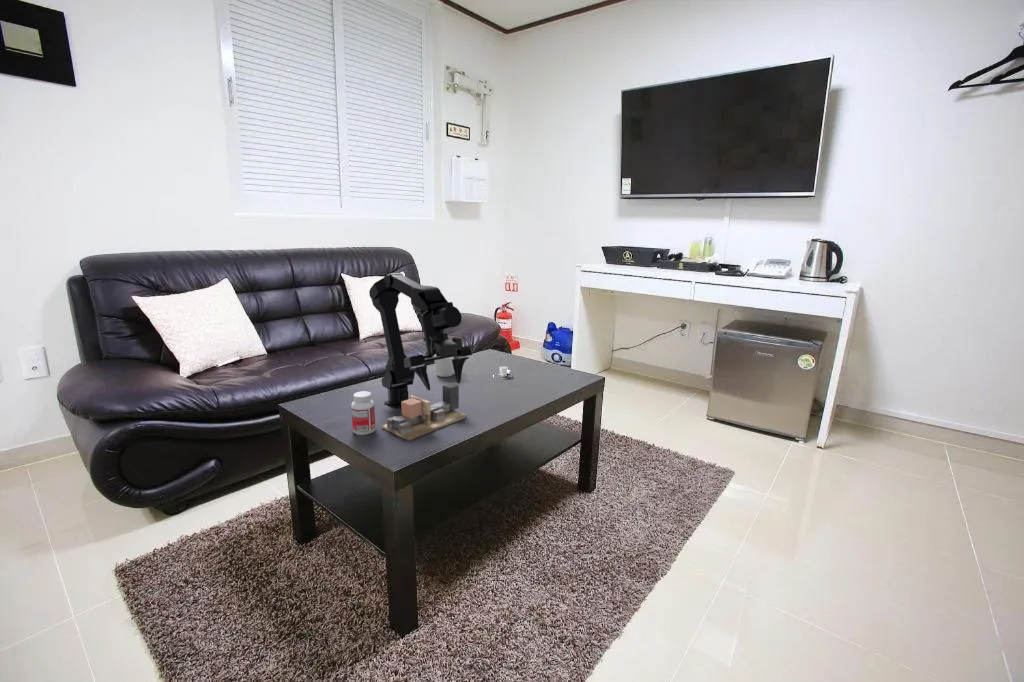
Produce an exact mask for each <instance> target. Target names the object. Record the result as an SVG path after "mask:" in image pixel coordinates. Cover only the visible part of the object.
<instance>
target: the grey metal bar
mask: <svg viewBox="0 0 1024 682" xmlns="http://www.w3.org/2000/svg"><path fill="white" fill-rule="evenodd" d="M459 391H460V385H458V384H456V383H453V382H449V383H446V384H443V385H442V401H438V402H437V403H434V404H430V418H433V411H436V410H438V409H443V410H445V413H446V412H449V411H452V410H455V411H456V410H457V409H459V408H460V405H459V404H460V403H459V402H460V400H459V399H460V396H459V395H460V392H459ZM406 421H408V422H411V426H412V425H415V424H417V423H420V422H423V421H425V414H424V413H422V415H419V416H416V417H414V418H411V419H410V418H408V417H406V416H403V415H402V414H401V415H400V416H397V417H396V418H394V419H393V427H394V428H396V429H398V430H399V424H400V423H403V422H406Z"/></svg>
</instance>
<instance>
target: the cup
mask: <svg viewBox="0 0 1024 682" xmlns="http://www.w3.org/2000/svg"><path fill="white" fill-rule="evenodd" d="M435 356H436V354H434V356H433V357H435ZM453 359H454V357H449V358H444V359H439V360H434V367H435V373H436V376H438V377H440V378H449V377H451V376H453V374H454V368H453V364H452V360H453Z"/></svg>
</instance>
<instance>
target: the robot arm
mask: <svg viewBox="0 0 1024 682" xmlns="http://www.w3.org/2000/svg"><path fill="white" fill-rule="evenodd" d="M368 293H369V297H370V299H371V302H372V305H373V307H374V308H375V309H376V310H377V312H378V313H379V314H380V320H381V323H382V325H381V326H382V330H383V334H384V339H385V343H386V349H387V355H388V359H387V362H386V365H385V373H384V375H383V377H382V378H381V380H380V381H381V385H382V387H383V388H384V389H385V388H386V389H387V396H388V400H385V401H384V404H385V405H387V406H390V407H392V408H395V409H398V408H402V407H401V402H402V401H405V400H408V399H410V398H409V389H408V388H409V386H410V385H411V386H412V385H413V384H414V380H415V375H417V376H418V377H419V378H420V380H421V382H422V384H423V385H424V387H425V388H426V390H427V391H431V384H430V379H429V375H428V371H427V369H428V368H427V367H428V365H425V363H429V362H433V361H434V362H435V360H439V359H444V358H449V357H454V359H453V360H452V364H453V368H454V372H453V374H454V378H455V380H456V383H457V385H458V384H460V383H461V379H462V373H463V367H464V364H465V363H466V360H468V359H469V357H470V356H473V355H474V354H473V349H472V347H470V345H466V346H465V345H464V346H463V342H462V337H460V336H453V337H452V338H451V339H449V337H448V333H446V331H445V330H448V329H452V328H456V327H458V326H459V325H460V324H461V322H462V313H461V312H460V310H459V309H458V308H457V307H456V306H454V304H453V302H452V301H448V300H447V298H446V297H445V296H444V295H443V293H442V292H441V289H440V288H439V287H437V286H431V285H423V284H420V283H418V282H416V281H415V280H412V279H410V278H409V277H407V276H404V274H403V273H401V272H391V273H390V272H389V273H387V274H385V275H384V276H383V278H381V279H379V280H378V281H375V282H374V283H373V285H372V286H371V287H370V288H369V291H368ZM400 294H403V295H404V296H407V297H408V298H410V301H411V304H412V305H413V306H415V307H416V309H418V310H420V311H419V313H418V314H417V316H416V317H417V319H420V321H421V325H422V331H423V336H424V337H422V339H423V342H425V347H426V352H425V355H424V354H422V353H421V354H417V355H411V356H407V355H406V353H405V350H404V346H403V340H402V336H401V335H402V334H401V330H400V325H399V320H398V316H397V311H396V310H397V307H398V304H399V302H400V300H399V299H400V298H399V295H400ZM435 355H436V356H435ZM434 356H435V357H434Z"/></svg>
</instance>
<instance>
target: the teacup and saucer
mask: <svg viewBox="0 0 1024 682" xmlns="http://www.w3.org/2000/svg"><path fill="white" fill-rule="evenodd" d="M499 373H500V374H499V376H500V377H501V378H506V377H507V376H508V375H507V374H511V370H510V369H508V366H506V365H505V366H504V365H503V366H499ZM505 376H506V377H505ZM492 377H493V378H494V374H493V375H492Z"/></svg>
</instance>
